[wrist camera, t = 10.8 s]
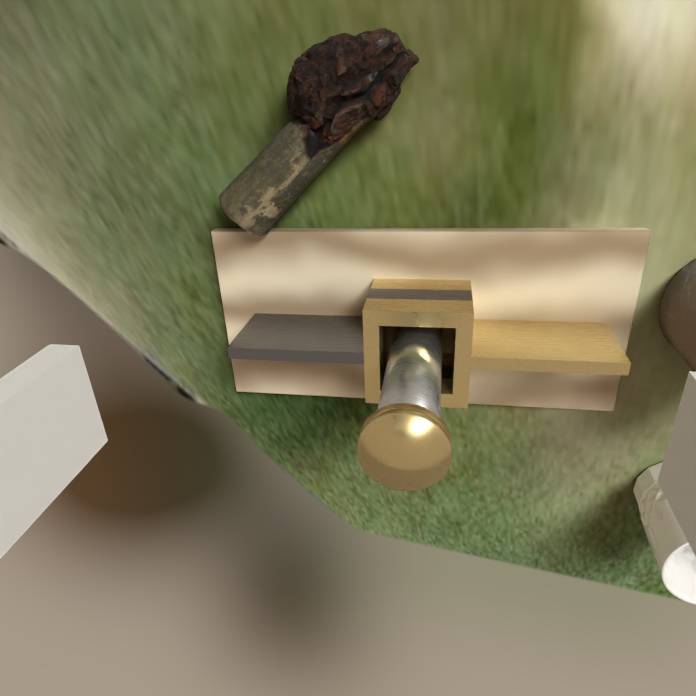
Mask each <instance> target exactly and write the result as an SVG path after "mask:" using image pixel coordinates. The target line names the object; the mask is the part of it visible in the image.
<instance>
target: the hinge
mask: <svg viewBox="0 0 696 696" xmlns="http://www.w3.org/2000/svg"><path fill="white" fill-rule="evenodd" d="M362 314H363V316H342V315H304V314H267V313H255V314H254V315H253V316H252V318H251V319H250V320H249V321H248V323H247V324H246V325H245V326H244V327H243V329H242V330H241V331H240V332H239V334H238V335H237V336H236V337H235V339H234V340H233V341H232V342H231V343H230V345H229V346H228V347H227V350H228V356H229V359H249V360H272V361H296V362H320V363H343V364H364V374H365V403H378V404H379V400H380V395H381V390H382V386H383V381H384V376H385V372H386V367H387V362H388V358H389V353H390V350H389V326H401V327H435V328H453V347H452V353H445V352H442V371H441V407H452V408H468V397H469V382H470V369H486V370H509V371H533V372H557V373H581V374H604V375H628V376H629V371H630V367H631V362H630V360H629V359H628V357H627V356H626V354H625V352H624V351H623V349H622V348H621V346H620V344H619V343H618V341H617V340H616V338H615V336H614V335H613V333H612V332H611V330H610V329H609V327H608V325H607V324H606V323H601V322H564V321H527V320H490V319H474V307H473V297H472V288H471V280H443V279H377V278H374V280H373V283H372V286H371V288H370V291H369V294H368V297H367V299H366V302H365V305H364V307H363V310H362Z"/></svg>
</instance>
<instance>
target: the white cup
mask: <svg viewBox="0 0 696 696" xmlns="http://www.w3.org/2000/svg"><path fill="white" fill-rule="evenodd" d="M662 463H663V462H661V463H658V464H656V465H653V466H651V467H648V468H647V469H646V470H645V471H644V472H643V473H642V474H641V475H639V476H638V477H637V480H636V483H635V486H634V488H633V492H634V495H635V499H636V502H637V505H638V508H639V510H640V517H641V520H642V523H643V526H644V530H645V533H646V535H647V538H648V541H649V544H650V546H651V549H652V552H653V555H654V558H655V560H656V563H657V566H658V569H659V572H660V574H661V577H662V580H663V583H664V585H665V586H666V588H667V589H668V590H669V591H670V592H671V593H672V594H673V595H675V596H676V597H678V598H679V599H681V600H684V601H686V602H689V603H692V604H696V557H695V555H694V553H693V551H692V549H691V547H690V545H689V543H688V541H687V539H686V537H685V535H684V533H683V531H682V529H681V527H680V525H679V523H678V521H677V519H676V517H675V515H674V513H673V511H672V509H671V507H670V505H669V503H668V501H667V499H666V497H665V495H664V493H663V491H662V489H661V487H660V486H659V484H658V482H657V480H658V477H659V473H660V470H661V467H662Z"/></svg>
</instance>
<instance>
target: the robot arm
mask: <svg viewBox="0 0 696 696" xmlns="http://www.w3.org/2000/svg"><path fill="white" fill-rule="evenodd" d="M107 441H108V439H107V436H106V433H105V430H104V426H103V423H102V420H101V416H100V413H99V410H98V407H97V403H96V400H95V397H94V393H93V390H92V387H91V383H90V380H89V377H88V373H87V370H86V367H85V364H84V360H83V357H82V354H81V350H80V347H79V346H78V345H55V344H50V345H48V346H47V347H45V348H44V349H42V350H41V351H39V352H38V353H37V354H35V355H34V356H32V357H31V358H29V359H28V360H26V361H25V362H24V363H22V364H21V365H19V366H18V367H16V368H15V369H14V370H12V371H11V372H9V373H8V374H6V375H5V376H4V377H2V378H1V379H0V559H1V557H2V556H3V555H4V554H5V553H6V552H7V551H8V550H9V549H10V547H11V546H12V545H13V544H14V543H15V542H16V541H17V540H18V539H19V538H20V537H21V535H22V534H23V533H24V532H25V531H26V530H27V529H28V528H29V527H30V526H31V525H32V523H33V522H34V521H35V520H36V519H37V518H38V517H39V516H40V515H41V513H42V512H43V511H44V510H45V509H46V508H47V507H48V506H49V505H50V504H51V502H53V500H54V499H55V498H56V497H57V496H58V495H59V494H60V493H61V492H62V490H63V489H64V488H65V487H66V486H67V485H68V484H69V483H70V482H71V481H72V479H73V478H74V477H75V476H76V475H77V474H78V473H79V472H80V471H81V469H83V467H84V466H85V465H86V464H87V463H88V462H89V461H90V460H91V459H92V458H93V456H94V455H95V454H96V453H97V452H98V451H99V450H100V449H101V448H102V446H103V445H104V444H105V443H106V442H107ZM657 482H658V484H659V486H660V487H661V489H662V491H663V493H664V495H665V497H666V499H667V501H668V503H669V505H670V507H671V509H672V511H673V513H674V515H675V517H676V519H677V521H678V523H679V525H680V527H681V529H682V531H683V533H684V535H685V537H686V539H687V541H688V543H689V545H690V547H691V549H692V551H693V553H694V555H695V557H696V372H692V371H689V373H688V377H687V380H686V383H685V387H684V390H683V394H682V397H681V401H680V404H679V408H678V411H677V415H676V418H675V422H674V425H673V428H672V432H671V435H670V439H669V442H668V446H667V449H666V453H665V456H664V460H663V463H662V467H661V470H660V473H659V477H658V480H657Z"/></svg>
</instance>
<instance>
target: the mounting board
mask: <svg viewBox="0 0 696 696" xmlns="http://www.w3.org/2000/svg"><path fill="white" fill-rule="evenodd" d="M211 234H212V240H213V247H214V253H215V259H216V265H217V272H218V278H219V284H220V291H221V297H222V303H223V309H224V316H225V322H226V328H227V335H228V341H229V345H230V343H231V342H232V341H233V340H234V339H235V337H236V336H237V335H238V334H239V332H240V331H241V330H242V329H243V327H244V326H245V325H246V324H247V323H248V321H249V320H250V319H251V318H252V316H253V315H254V314H255V313H267V314H304V315H342V316H363V314H362V310H363V307H364V305H365V302H366V299H367V297H368V294H369V291H370V288H371V286H372V283H373V280H374V278H377V279H443V280H471V288H472V297H473V307H474V319H490V320H527V321H564V322H601V323H606V324H607V325H608V327H609V329H610V330H611V332H612V333H613V335H614V336H615V338H616V340H617V341H618V343H619V344H620V346H621V348H622V349H623V351H624V352H625V354H626V349H627V345H628V340H629V335H630V330H631V326H632V321H633V316H634V312H635V307H636V302H637V298H638V293H639V288H640V284H641V279H642V274H643V269H644V265H645V260H646V255H647V251H648V246H649V241H650V237H651V231H650V230H648V229H647V228H272V229H271V230H270V231H269V232H268V234H267V235H265V236H264V235H263V236H255V235H252V234H250V233H248V232H247V231H246V230H244V229H243V228H216V229H214V230H213V231H211ZM394 329H395V326H389V350H390V348H391V344H392V339H393V334H394ZM452 347H453V328H443V336H442V352H445V353H452ZM231 360H232V366H233V372H234V379H235V385H236V391H239V392H258V393H277V394H296V395H315V396H334V397H353V398H365V374H364V364H343V363H320V362H296V361H272V360H249V359H231ZM620 377H621V375H604V374H581V373H557V372H533V371H509V370H486V369H470V382H469V397H468V404H485V405H504V406H523V407H542V408H561V409H580V410H599V411H613V410H614V406H615V401H616V396H617V391H618V387H619V382H620Z"/></svg>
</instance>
